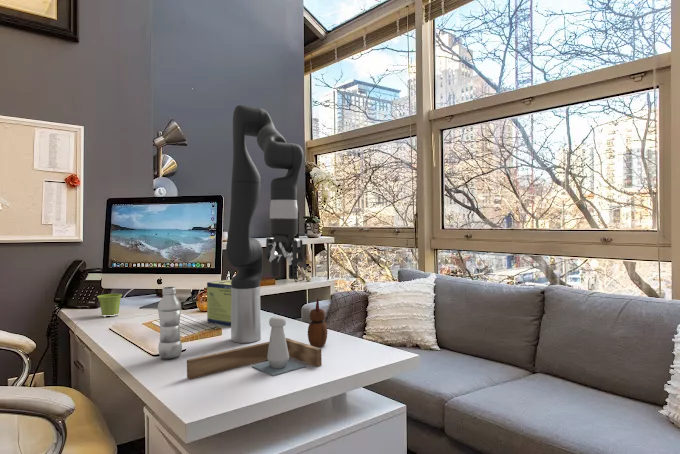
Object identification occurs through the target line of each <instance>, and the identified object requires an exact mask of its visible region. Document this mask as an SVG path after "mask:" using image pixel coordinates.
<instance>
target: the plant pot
mask: <svg viewBox="0 0 680 454" xmlns="http://www.w3.org/2000/svg"><path fill="white" fill-rule="evenodd" d="M122 296H123V294H122V293H108V294H100V295H97V296H96V297H97V299H98V301H99V305H100V310H101V316H102V315H114V314H118V313H120V306H121V305H120V304H121V300H122Z"/></svg>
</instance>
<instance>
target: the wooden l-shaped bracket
mask: <svg viewBox="0 0 680 454" xmlns="http://www.w3.org/2000/svg"><path fill="white" fill-rule="evenodd" d="M285 338H286V343H287V348H288V353H289V358H290V359H294V360H297V361H299V362H303V363H306V364H307V365H308V364H309V365H311V366H314V367H316V368H318V367H321V366H322V364H323V363H322V360H323V359H322V348H320V347H314V346H312V345H311V344H307V343H305V342H300V341H297V340H295V339H290V338H287V337H285ZM268 347H269V341H266V342H261V343H257V344H252V345H247V346H243V347H239V348H234V349H230V350H224V351H221V352H216V353H210V354H207V355H202V356H197V357H193V358H189V359H188V358H187V359H186V378H187V379H188V380H194V379H196V378H201V377H206V376H208V375H209V376H210V375H212V374H216V373H221V372H225V371H228V370H233V369H236V368H240V367H244V366H248V365H253V364H257V363H262V362H264V361H265V362H266V361H268V360H267V354H268Z"/></svg>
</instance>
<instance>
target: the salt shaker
mask: <svg viewBox="0 0 680 454" xmlns="http://www.w3.org/2000/svg"><path fill="white" fill-rule="evenodd" d="M286 322H287V321H286V317H284V316H280V315H276V316H275V315H274V316H272V317H270V318H269V321H268V324H269V326H270V327H271V329H270V335H269V341H268V342H269V347H268V354H267V360H266V361H267V362H269V365H270V367H272V368H279V369H280V368H283V367H285V366H286V364H287V362H288V360H290V357H289V353H288V348H287V343H286V338H287V337H286V334H285V328H284V327H285V326H286Z"/></svg>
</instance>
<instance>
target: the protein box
mask: <svg viewBox="0 0 680 454" xmlns="http://www.w3.org/2000/svg"><path fill="white" fill-rule="evenodd" d="M231 280H232V279H222V280H215V281H209V282H206V298H207V299H206V303H207V305H206V307H207V309H206V311H207V316H206V318H207V319H206V320H207V321H209V322H213V323H212V324H216V323H217V324H216V325H222V326H223V325H224V326H228V325H229V327H231V310H232V299H231ZM207 321H206V322H207ZM209 322H208V323H209Z"/></svg>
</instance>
